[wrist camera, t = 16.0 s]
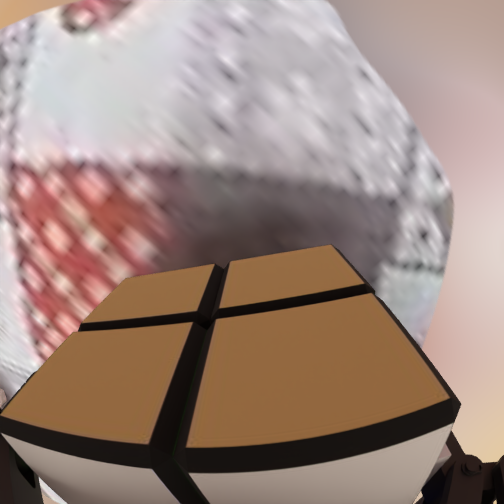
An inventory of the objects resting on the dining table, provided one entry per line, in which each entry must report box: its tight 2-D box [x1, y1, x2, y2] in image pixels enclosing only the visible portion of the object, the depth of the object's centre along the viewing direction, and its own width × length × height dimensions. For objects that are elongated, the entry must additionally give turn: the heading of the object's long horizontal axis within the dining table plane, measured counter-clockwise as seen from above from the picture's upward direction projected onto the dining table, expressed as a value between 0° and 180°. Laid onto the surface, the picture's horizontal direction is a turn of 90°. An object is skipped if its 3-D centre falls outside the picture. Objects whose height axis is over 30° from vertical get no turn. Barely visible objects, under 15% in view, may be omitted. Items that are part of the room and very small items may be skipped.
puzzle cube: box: [0, 244, 461, 504], centre depth 10 cm, size 10×10×10 cm
